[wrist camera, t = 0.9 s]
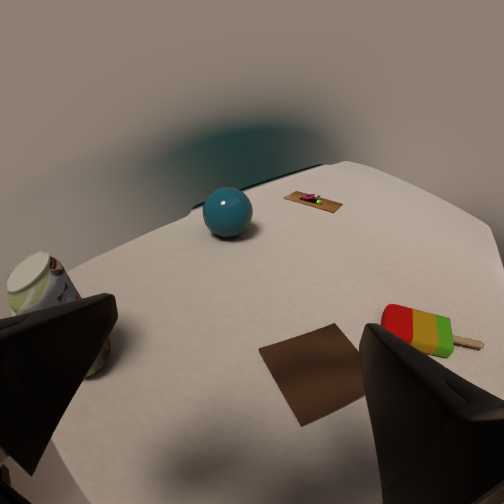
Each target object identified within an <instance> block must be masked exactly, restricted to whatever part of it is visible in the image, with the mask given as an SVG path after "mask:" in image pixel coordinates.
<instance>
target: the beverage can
mask: <svg viewBox="0 0 504 504" xmlns="http://www.w3.org/2000/svg"><path fill="white" fill-rule="evenodd" d="M5 288H6V290H7V291H8V301H9V304H10V306H11V308H12V310H13V311H14V312H15V314H16V315H21V314H25V313H30V312H33V311H37V310H41V309H45V308H49V307H52V306H56V305H60V304H64V303H68V302H72V301H75V300H79V299H82V298H81V296H80V295H79V293H78V292H77V290H76V288H75V287H74V285H73V283H72V282H71V280H70V278H69V276H68V275H67V273H66V271H65V269H64V267H63V266H62V264H61V263H60V262H59V261H58V260H57V259H55V258H53V257H51V256H50V255H49V253H48V252H46V251H39V252H36V253H33V254H31V255H29V256H27V257H26V258H25V259H23V260H22V261H21V262H19V263H18V264H17V265H16V266H15V267H14V268H13V269H12V271H11V272H10V274H9V275H8V277H7V279H6V282H5ZM109 353H110V341H109V339H107V341H106V343H105V345H104V347H103V349H102V350H101V352H100V354H99V355H98V357H97V358H96V360H95V362H94V363H93V365H92V366H91V368H90V370H89V371H88V373H87V375H86V376H85V377H88V376H90V375H92V374H94V373H96V372H97V371H98V370H99V369H100V368H101V367H102V366H103V365H104V364H105V362H106V360H107V358H108V356H109Z"/></svg>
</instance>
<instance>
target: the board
mask: <svg viewBox="0 0 504 504" xmlns="http://www.w3.org/2000/svg"><path fill="white" fill-rule="evenodd" d="M284 199H287V200H291V201H294V202H298V203H301V204H305V205H308V206H312V207H315V208H319V209H322V210H325V211H329V212H332V213H334V212H335V211H336V210H337V209H338V208H340V207H341V206H342V205H343V204H341V203H337V202H334V201H331V200H327V199H324V198H320V196H317V195H316V194H305V193H302V192H298V191H296V192H294V193H292V194H290V195H288V196H286V197H284Z"/></svg>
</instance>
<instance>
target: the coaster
mask: <svg viewBox="0 0 504 504" xmlns="http://www.w3.org/2000/svg"><path fill="white" fill-rule="evenodd" d="M259 353H260V354H261V356H262V358H263V360H264V362H265V364H266V365H267V367H268V369H269V371H270V373H271V374H272V376H273V378H274V380H275V382H276V383H277V385H278V387H279V389H280V391H281V392H282V394H283V396H284V398H285V399H286V401H287V403H288V405H289V406H290V408H291V410H292V412H293V413H294V415H295V417H296V418H297V420H298V422H299V423H300V425H301V427H302V426H305V425H307V424H309V423H311V422H314V421H316V420H318V419H320V418H322V417H324V416H326V415H329V414H331V413H333V412H335V411H337V410H339V409H341V408H342V407H344V406H346V405H348V404H350V403H352V402H354V401H356V400H357V399H359V398H361V397H363V396H365V392H364V387H363V380H362V371H361V362H360V354H359V351H358V350H357V349H356V348H355V347H354V345H353V344H352V343H351V342H350V341H349V339H348V338H347V337H346V336H345V335H344V333H343V332H342V331H341V330H340V329H339V327H338V326H337V325H336V324H335V323H334V324H331V325H328V326H326V327H323V328H320V329H317V330H314V331H312V332H309V333H306V334H303V335H300V336H297V337H294V338H291V339H288V340H285V341H282V342H279V343H275V344H272V345H269V346H266V347H262V348H259Z"/></svg>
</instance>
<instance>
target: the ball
mask: <svg viewBox="0 0 504 504" xmlns="http://www.w3.org/2000/svg"><path fill="white" fill-rule="evenodd" d="M252 214H253V209H252V205H251V202H250V200H249V199H248V197H247V196H246V195H245V194H244V193H243V192H242V191H240V190H238V189H236V188H231V187H224V188H220V189H218V190H215V191H214V192H212V193H211V194H210V196H209V197H208V198H207V199H206V201H205V203H204V205H203V218H204V222H205V224H206V226H207V227H208V229H209V230H211V231H212V232H213V233H214V234H216V235H218V236H221V237H234V236H237V235H239V234H241V233H242V232H243V231H245V230H246V229H247V227H248V226H249V224H250V221H251V218H252Z"/></svg>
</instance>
